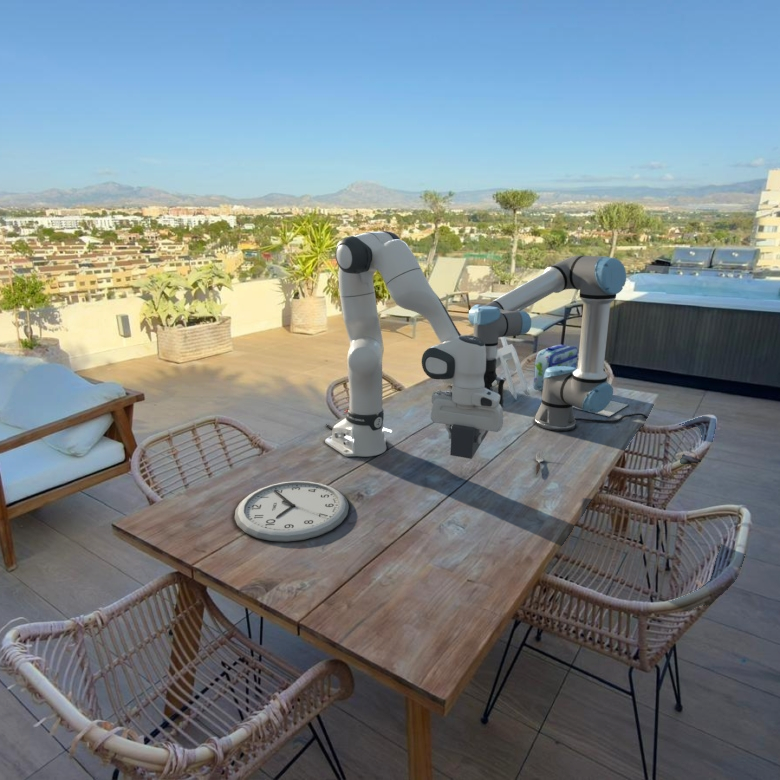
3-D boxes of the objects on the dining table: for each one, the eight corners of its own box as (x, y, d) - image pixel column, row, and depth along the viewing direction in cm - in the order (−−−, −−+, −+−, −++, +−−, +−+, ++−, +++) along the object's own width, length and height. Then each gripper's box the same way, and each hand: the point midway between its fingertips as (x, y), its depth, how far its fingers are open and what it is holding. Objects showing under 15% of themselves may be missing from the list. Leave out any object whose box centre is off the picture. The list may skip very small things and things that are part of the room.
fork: (531, 475, 162) (532, 469, 161) (536, 455, 176) (537, 450, 175) (540, 476, 161) (541, 471, 160) (544, 456, 175) (545, 451, 175)
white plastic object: (461, 429, 252) (437, 405, 227) (444, 352, 274) (420, 323, 250) (535, 404, 240) (518, 377, 215) (510, 326, 262) (492, 293, 237)
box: (472, 424, 172) (474, 398, 169) (491, 426, 170) (493, 401, 167) (450, 455, 148) (451, 426, 146) (471, 459, 146) (473, 429, 143)
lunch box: (550, 397, 237) (555, 352, 231) (529, 391, 245) (533, 348, 238) (577, 386, 255) (582, 344, 249) (556, 381, 262) (561, 340, 256)
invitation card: (608, 416, 214) (573, 407, 224) (608, 416, 214) (573, 408, 224) (628, 404, 229) (594, 396, 238) (628, 405, 229) (594, 397, 238)
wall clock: (349, 533, 127) (222, 537, 124) (349, 539, 127) (223, 543, 125) (348, 477, 155) (245, 479, 153) (348, 481, 156) (245, 484, 153)
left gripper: (428, 392, 146) (426, 438, 150) (502, 402, 139) (498, 450, 143) (435, 386, 152) (433, 431, 156) (506, 396, 144) (502, 442, 148)
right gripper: (450, 357, 161) (447, 426, 168) (513, 363, 154) (507, 436, 161) (457, 351, 167) (453, 419, 174) (517, 358, 161) (511, 427, 168)
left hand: (464, 440), depth 149 cm, fingers closed on box, 6 cm apart
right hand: (479, 427), depth 168 cm, fingers closed on box, 6 cm apart
